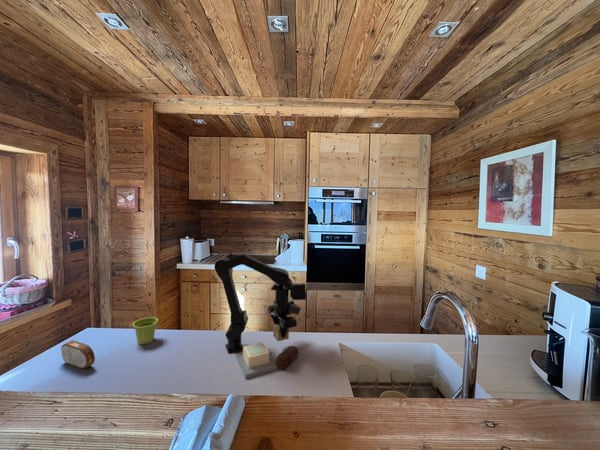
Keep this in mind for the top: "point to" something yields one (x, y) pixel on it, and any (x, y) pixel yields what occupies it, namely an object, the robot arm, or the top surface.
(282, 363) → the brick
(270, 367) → the foundation
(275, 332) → the tan cube
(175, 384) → the top surface
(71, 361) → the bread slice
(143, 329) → the plant pot
